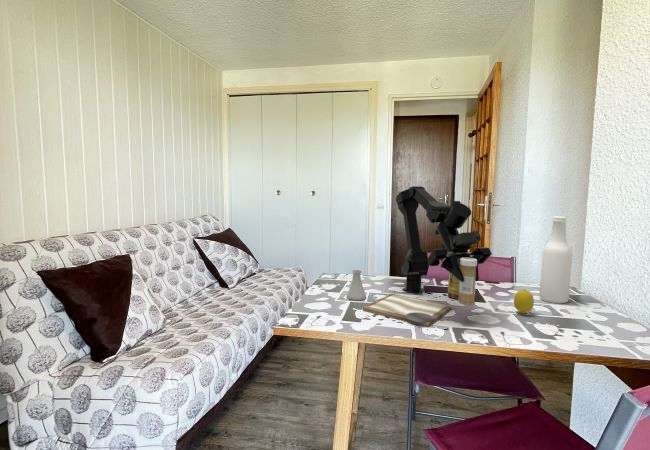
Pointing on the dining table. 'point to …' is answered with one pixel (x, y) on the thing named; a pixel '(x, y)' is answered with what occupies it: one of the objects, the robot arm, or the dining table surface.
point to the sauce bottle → (453, 285)
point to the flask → (356, 287)
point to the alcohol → (556, 265)
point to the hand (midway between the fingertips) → (470, 280)
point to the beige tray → (408, 309)
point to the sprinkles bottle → (467, 281)
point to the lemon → (523, 301)
